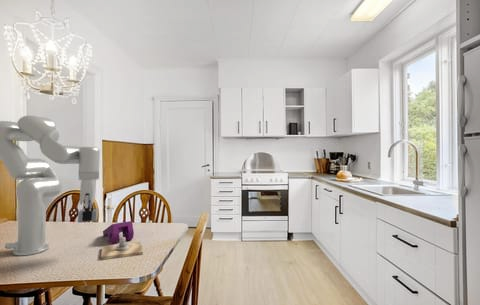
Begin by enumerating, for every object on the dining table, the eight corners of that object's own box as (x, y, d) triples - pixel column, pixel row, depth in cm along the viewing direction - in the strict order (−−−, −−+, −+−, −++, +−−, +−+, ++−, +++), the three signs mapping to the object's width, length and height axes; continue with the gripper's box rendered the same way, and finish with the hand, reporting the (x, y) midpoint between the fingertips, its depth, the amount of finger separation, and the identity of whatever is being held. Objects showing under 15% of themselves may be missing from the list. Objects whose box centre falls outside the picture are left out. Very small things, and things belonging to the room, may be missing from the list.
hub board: (100, 259, 107) (101, 244, 108) (102, 248, 120) (102, 235, 120) (142, 254, 114) (143, 240, 114) (140, 244, 127) (140, 231, 127)
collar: (77, 222, 107) (78, 212, 108) (80, 219, 113) (80, 209, 113) (95, 221, 110) (96, 211, 110) (97, 218, 116) (97, 208, 116)
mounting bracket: (102, 249, 136) (114, 241, 125) (100, 233, 138) (112, 224, 127) (121, 245, 143) (134, 237, 131) (119, 229, 145) (131, 220, 134)
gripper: (81, 174, 118) (80, 215, 118) (75, 177, 103) (74, 224, 102) (100, 174, 121) (99, 214, 121) (97, 177, 106) (96, 223, 105)
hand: (87, 218), depth 112 cm, fingers closed on collar, 6 cm apart
